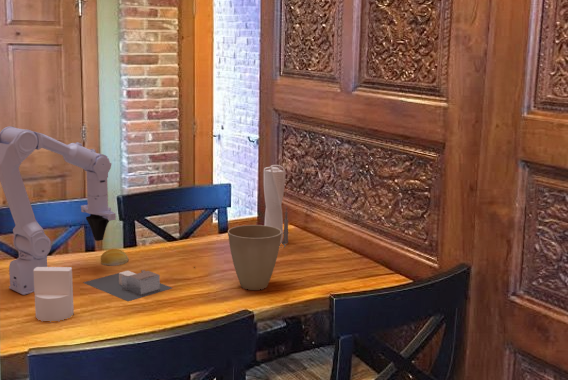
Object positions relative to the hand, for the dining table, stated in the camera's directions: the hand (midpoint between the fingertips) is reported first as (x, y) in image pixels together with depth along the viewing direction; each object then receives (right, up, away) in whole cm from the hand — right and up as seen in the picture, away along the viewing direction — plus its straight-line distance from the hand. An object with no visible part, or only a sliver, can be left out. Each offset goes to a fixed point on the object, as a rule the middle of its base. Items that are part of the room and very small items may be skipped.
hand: (98, 240), depth 219 cm
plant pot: (+46, -13, -8) cm, 48 cm away
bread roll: (+2, -8, +11) cm, 13 cm away
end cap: (+15, -13, -15) cm, 25 cm away
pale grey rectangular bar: (+13, -12, -13) cm, 22 cm away
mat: (+11, -12, -11) cm, 20 cm away
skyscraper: (+51, -4, +34) cm, 61 cm away
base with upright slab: (-3, -17, -33) cm, 37 cm away
